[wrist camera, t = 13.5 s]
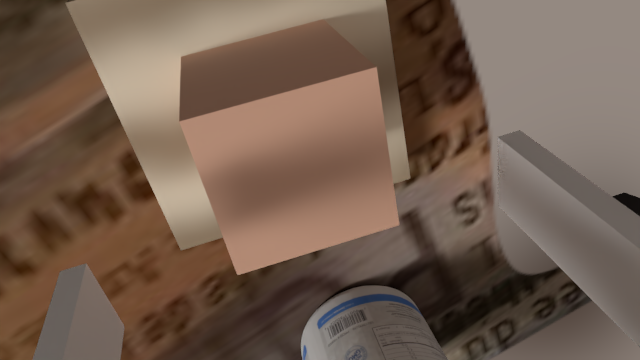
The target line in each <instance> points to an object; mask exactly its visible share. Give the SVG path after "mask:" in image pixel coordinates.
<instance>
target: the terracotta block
mask: <svg viewBox="0 0 640 360" xmlns="http://www.w3.org/2000/svg"><path fill="white" fill-rule="evenodd" d="M179 123H180V125H181V128H182V131H183V133H184V136H185V138H186V141H187V144H188V146H189V149H190V152H191V154H192V157H193V159H194V162H195V165H196V167H197V170H198V173H199V175H200V178H201V181H202V183H203V186H204V188H205V191H206V194H207V196H208V199H209V202H210V204H211V207H212V209H213V212H214V215H215V217H216V220H217V223H218V225H219V228H220V230H221V233H222V236H223V238H224V241H225V244H226V246H227V249H228V251H229V254H230V257H231V259H232V262H233V265H234V267H235V270H236V272H237V275H240V274H243V273H246V272H249V271H253V270H256V269H259V268H262V267H266V266H269V265H272V264H275V263H278V262H282V261H285V260H288V259H291V258H295V257H298V256H301V255H304V254H307V253H311V252H314V251H317V250H320V249H324V248H327V247H330V246H333V245H337V244H340V243H343V242H346V241H349V240H353V239H356V238H359V237H362V236H366V235H369V234H372V233H375V232H378V231H382V230H385V229H388V228H391V227H395V226H398V225H399V219H398V213H397V206H396V199H395V192H394V185H393V178H392V171H391V164H390V157H389V150H388V143H387V136H386V129H385V122H384V115H383V108H382V101H381V94H380V87H379V80H378V73H377V67H376V66H375V65H374V64H373V63H372V62H371V61H369V60H368V59H367V58H366V57H365V56H364V55H363V54H362V53H361V52H359V51H358V50H357V49H356V48H355V47H354V46H353V45H352V44H350V43H349V42H348V41H347V40H346V39H345V38H344V37H343V36H342V35H340V34H339V33H338V32H337V31H336V30H335V29H334V28H333V27H331V26H330V25H329V24H328V23H327V22H326V21H325V20H324V19H322V20H318V21H314V22H311V23H307V24H303V25H299V26H296V27H292V28H288V29H284V30H280V31H277V32H273V33H269V34H265V35H261V36H258V37H254V38H250V39H246V40H243V41H239V42H235V43H231V44H227V45H224V46H220V47H216V48H212V49H209V50H205V51H201V52H197V53H193V54H190V55H186V56H182V57H181V70H180V107H179Z"/></svg>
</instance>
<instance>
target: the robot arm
mask: <svg viewBox="0 0 640 360" xmlns="http://www.w3.org/2000/svg"><path fill="white" fill-rule="evenodd" d="M498 203H499V207H500V208H501V209H502V210H503V211H504V212H505V213H506V214H507V215H508V216H509V217H510V218H511V219H512V220H513V221H514V222H515V223H516V224H517V225H518V226H519V227H520V228H521V229H522V230H523V231H524V232H525V233H526V234H527V235H528V236H529V237H530V238H531V239H532V240H533V241H534V242H535V243H536V244H537V245H538V246H539V247H540V248H541V249H542V250H543V251H544V252H545V253H546V254H547V255H548V256H549V257H550V258H551V259H552V260H553V261H554V262H555V263H556V264H557V265H558V266H559V267H560V268H561V269H562V270H563V271H564V272H565V273H566V274H567V275H568V276H569V277H570V278H571V279H572V280H573V281H574V282H575V283H576V284H577V285H578V286H579V287H580V288H581V289H582V290H583V291H584V292H585V293H586V294H587V295H588V296H589V297H590V298H591V299H592V300H593V301H594V302H595V303H596V304H597V305H598V306H599V307H600V308H601V309H602V310H603V311H604V312H605V313H606V314H607V315H608V316H609V317H610V318H611V319H612V320H613V321H614V322H615V323H616V324H617V325H618V326H619V327H620V328H621V329H622V330H623V331H624V332H625V333H626V334H627V335H628V336H629V337H630V338H631V339H632V340H633V341H634V342H635V343H636V344H637V345H638V346H639V347H640V198H638V197H635V196H633V195H629V194H627V193H622V194H619V195H616V196H613V197H612V196H610V195H609V194H608V193H606V192H605V191H604V190H602V189H601V188H599V187H598V186H597V185H595V184H594V183H592V182H591V181H590V180H588V179H587V178H586V177H584V176H583V175H581V174H580V173H578V172H577V171H576V170H574V169H573V168H572V167H570V166H569V165H567V164H566V163H565V162H563V161H562V160H561V159H559V158H558V157H556V156H555V155H553V154H552V153H551V152H549V151H548V150H547V149H545V148H543V147H542V146H541V145H540V144H538V143H537V142H535V141H534V140H533V139H531V138H530V137H528V136H527V135H526V134H524V133H523V132H521V131H520V130H519V131H516V132H513V133H509V134H506V135H503V136H500V137H498ZM123 334H124V325H123V323H122V321H121V320H120V318H119V316H118V315H117V313H116V312H115V310H114V308H113V307H112V305H111V303H110V302H109V300H108V298H107V297H106V295H105V293H104V292H103V290H102V288H101V287H100V285H99V283H98V282H97V280H96V278H95V277H94V275H93V274H92V272H91V270H90V269H89V267H88V265H87V264H83V265H80V266H76V267H73V268H70V269H67V270H63V271H60V274H59V277H58V280H57V283H56V287H55V290H54V293H53V296H52V300H51V303H50V306H49V309H48V312H47V316H46V319H45V322H44V325H43V328H42V332H41V335H40V338H39V341H38V344H37V348H36V351H35V354H34V357H33V360H120V357H121V349H122V341H123Z"/></svg>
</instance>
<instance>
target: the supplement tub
mask: <svg viewBox="0 0 640 360" xmlns="http://www.w3.org/2000/svg"><path fill="white" fill-rule="evenodd" d="M301 353H302V358H303V360H448V359H447V357H446V356H445V354H444V352H443V351H442V349H441V347H440V345H439V344H438V342H437V340H436V338H435V337H434V335H433V333H432V331H431V330H430V328H429V326H428V324H427V323H426V321H425V319H424V318H423V316H422V314H421V313H420V311H419V309H418V308H417V306H416V304H415V303H414V302H413V301H412V300H411V299H410V298H409V297H408V296H407V295H406V294H404V293H403V292H401V291H399V290H397V289H394V288H391V287H387V286H379V285H368V286H360V287H356V288H352V289H349V290H346V291H344V292H341V293H339V294H337V295H335V296H334V297H332V298H331V299H329V300H328V301H326V302H325V303H324V304H322V305H321V306H320V307H319V308H318V309H317V310H316V311H315V312H314V313H313V315H312V316H311V318H310V319H309V321H308V322H307V324H306V326H305V328H304V331H303V335H302V340H301Z"/></svg>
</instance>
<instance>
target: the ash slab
mask: <svg viewBox="0 0 640 360" xmlns="http://www.w3.org/2000/svg"><path fill="white" fill-rule="evenodd" d="M66 5H67V8H68V10H69V12H70V14H71V16H72V18H73V20H74V23H75V25H76V27H77V29H78V31H79V33H80V35H81V38H82V40H83V42H84V44H85V46H86V48H87V50H88V52H89V55H90V57H91V59H92V61H93V63H94V65H95V67H96V70H97V72H98V74H99V76H100V78H101V80H102V82H103V85H104V87H105V89H106V91H107V93H108V95H109V97H110V100H111V102H112V104H113V106H114V108H115V110H116V112H117V115H118V117H119V119H120V121H121V123H122V125H123V127H124V129H125V132H126V134H127V136H128V138H129V140H130V142H131V144H132V147H133V149H134V151H135V153H136V155H137V157H138V159H139V162H140V164H141V166H142V168H143V170H144V172H145V174H146V177H147V179H148V181H149V183H150V185H151V187H152V189H153V192H154V194H155V196H156V198H157V200H158V202H159V204H160V206H161V209H162V211H163V213H164V215H165V217H166V219H167V221H168V224H169V226H170V228H171V230H172V232H173V234H174V236H175V239H176V241H177V243H178V245H179V247H180V249H181V250H184V249H187V248H190V247H194V246H197V245H200V244H203V243H206V242H210V241H213V240H216V239H219V238H222V237H223V236H222V233H221V230H220V228H219V225H218V223H217V220H216V217H215V215H214V212H213V209H212V207H211V204H210V202H209V199H208V196H207V194H206V191H205V188H204V186H203V183H202V181H201V178H200V175H199V173H198V170H197V167H196V165H195V162H194V159H193V157H192V154H191V152H190V149H189V146H188V144H187V141H186V138H185V136H184V133H183V131H182V128H181V125H180V123H179V107H180V70H181V57H182V56H186V55H190V54H193V53H197V52H201V51H205V50H209V49H212V48H216V47H220V46H224V45H227V44H231V43H235V42H239V41H243V40H246V39H250V38H254V37H258V36H261V35H265V34H269V33H273V32H277V31H280V30H284V29H288V28H292V27H296V26H299V25H303V24H307V23H311V22H314V21H318V20H322V19H324V20H325V21H326V22H327V23H328V24H329V25H330V26H331V27H333V28H334V29H335V30H336V31H337V32H338V33H339V34H340V35H342V36H343V37H344V38H345V39H346V40H347V41H348V42H349V43H350V44H352V45H353V46H354V47H355V48H356V49H357V50H358V51H359V52H361V53H362V54H363V55H364V56H365V57H366V58H367V59H368V60H369V61H371V62H372V63H373V64H374V65H375V66H376V67H377V73H378V80H379V87H380V94H381V101H382V108H383V115H384V122H385V129H386V136H387V143H388V150H389V157H390V164H391V171H392V178H393V184H394V183H398V182H401V181H404V180H407V179H410V171H409V164H408V157H407V149H406V142H405V135H404V128H403V121H402V114H401V106H400V99H399V92H398V85H397V78H396V70H395V63H394V56H393V49H392V42H391V34H390V27H389V20H388V13H387V6H386V0H68V1H67V2H66Z"/></svg>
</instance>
